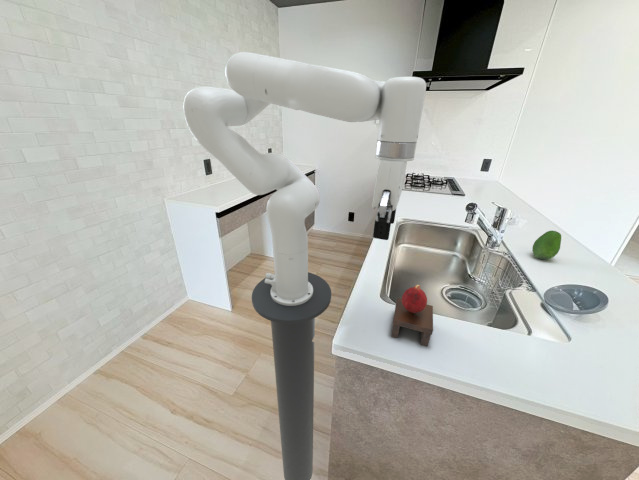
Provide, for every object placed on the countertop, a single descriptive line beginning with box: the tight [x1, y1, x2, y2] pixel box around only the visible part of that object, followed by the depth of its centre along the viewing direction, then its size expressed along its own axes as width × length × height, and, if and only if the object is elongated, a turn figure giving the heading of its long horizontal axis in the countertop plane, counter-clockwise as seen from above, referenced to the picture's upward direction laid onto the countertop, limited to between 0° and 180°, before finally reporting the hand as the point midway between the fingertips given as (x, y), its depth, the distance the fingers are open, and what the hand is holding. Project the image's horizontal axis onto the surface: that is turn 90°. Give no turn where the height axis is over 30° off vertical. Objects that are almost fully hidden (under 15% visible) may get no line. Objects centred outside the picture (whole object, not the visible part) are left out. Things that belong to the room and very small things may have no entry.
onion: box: [401, 284, 428, 313], centre depth 63 cm, size 6×6×8 cm
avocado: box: [531, 230, 562, 261], centre depth 99 cm, size 8×8×12 cm
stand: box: [390, 297, 434, 347], centre depth 66 cm, size 9×9×6 cm
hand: (384, 229), depth 59 cm, fingers open, 9 cm apart
